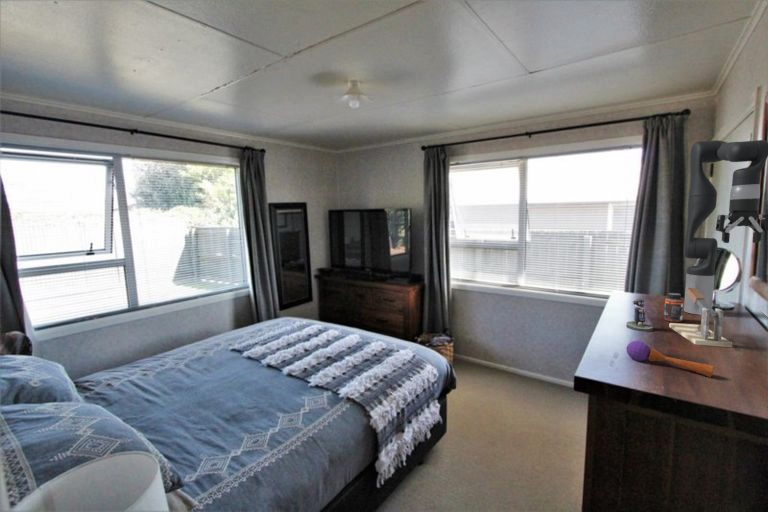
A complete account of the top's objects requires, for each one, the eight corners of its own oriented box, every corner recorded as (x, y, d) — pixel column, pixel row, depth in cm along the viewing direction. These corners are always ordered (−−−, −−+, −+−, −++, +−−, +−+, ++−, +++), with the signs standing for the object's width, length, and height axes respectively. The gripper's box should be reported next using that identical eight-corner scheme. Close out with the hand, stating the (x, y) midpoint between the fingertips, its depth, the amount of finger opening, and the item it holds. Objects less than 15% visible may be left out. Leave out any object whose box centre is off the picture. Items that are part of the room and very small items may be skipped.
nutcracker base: (669, 326, 139) (671, 296, 138) (700, 328, 136) (702, 298, 135) (695, 344, 120) (697, 310, 119) (732, 347, 117) (735, 311, 116)
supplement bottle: (686, 322, 144) (688, 295, 143) (671, 322, 144) (673, 295, 143) (674, 318, 150) (676, 292, 149) (660, 318, 150) (661, 292, 149)
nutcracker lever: (715, 324, 120) (719, 313, 118) (706, 323, 121) (709, 313, 119) (693, 297, 134) (696, 288, 132) (685, 297, 135) (687, 287, 133)
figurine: (621, 326, 141) (623, 297, 139) (634, 323, 144) (635, 294, 143) (645, 332, 133) (646, 301, 132) (657, 329, 137) (659, 298, 136)
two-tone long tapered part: (712, 367, 94) (624, 343, 109) (708, 386, 96) (623, 360, 111) (715, 357, 98) (630, 335, 113) (712, 375, 100) (629, 351, 114)
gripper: (762, 197, 129) (758, 242, 131) (714, 199, 133) (710, 242, 135) (777, 196, 122) (773, 243, 123) (725, 198, 126) (722, 243, 128)
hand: (740, 242), depth 129 cm, fingers open, 8 cm apart
